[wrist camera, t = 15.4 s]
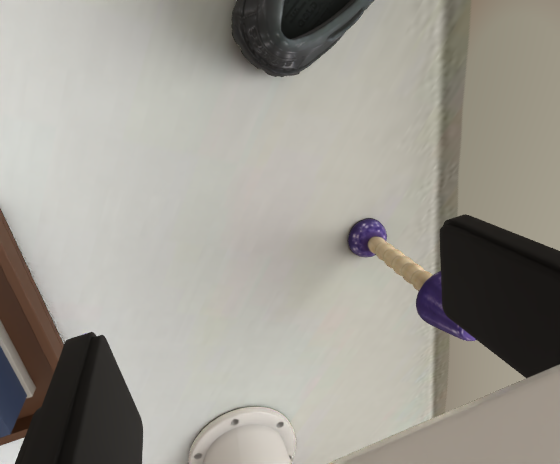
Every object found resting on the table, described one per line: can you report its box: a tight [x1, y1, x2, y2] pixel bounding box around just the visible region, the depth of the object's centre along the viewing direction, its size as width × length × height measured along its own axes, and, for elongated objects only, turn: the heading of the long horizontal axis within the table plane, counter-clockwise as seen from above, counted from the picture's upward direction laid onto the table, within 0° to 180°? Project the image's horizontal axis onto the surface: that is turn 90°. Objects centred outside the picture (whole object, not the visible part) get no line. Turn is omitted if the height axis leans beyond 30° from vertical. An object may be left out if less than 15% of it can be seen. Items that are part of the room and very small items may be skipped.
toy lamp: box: [348, 218, 476, 341], centre depth 34 cm, size 5×5×17 cm
